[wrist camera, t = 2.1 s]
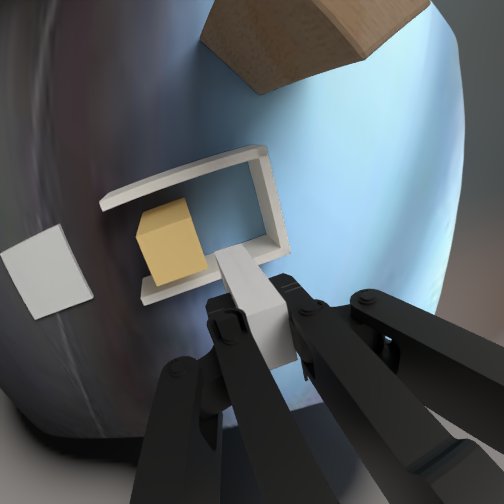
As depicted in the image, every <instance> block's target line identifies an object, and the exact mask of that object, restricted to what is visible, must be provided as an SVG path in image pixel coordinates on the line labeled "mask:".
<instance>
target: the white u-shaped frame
mask: <svg viewBox="0 0 504 504" xmlns="http://www.w3.org/2000/svg"><path fill="white" fill-rule="evenodd" d="M246 161H248V164H249V168H250V172H251V176H252V179H253V183H254V187H255V191H256V195H257V199H258V203H259V207H260V210H261V214H262V218H263V222H264V226H265V230H266V235H263V236H260V237H257V238H254V239H251V240H249V241H246V242H243V243H242V245H243V246H244V247H245V249H246V250H247V251H248V253H249V254H250V255H251V257H252V258H253V259H254V261H255V262H256V263H257V265H260V264H263V263H266V262H269V261H271V260H274V259H277V258H280V257H282V256H285V255H288V254H290V253H291V250H290V246H289V241H288V237H287V232H286V228H285V223H284V219H283V214H282V210H281V206H280V201H279V197H278V193H277V189H276V184H275V180H274V176H273V172H272V168H271V164H270V160H269V156H268V152H267V148H266V146H265V145H254V144H252V145H248V146H244V147H241V148H237V149H234V150H230V151H227V152H223V153H220V154H217V155H213V156H210V157H207V158H204V159H201V160H197V161H194V162H191V163H188V164H185V165H182V166H179V167H176V168H173V169H170V170H168V171H165V172H162V173H159V174H156V175H154V176H151V177H148V178H145V179H143V180H140V181H137V182H135V183H132V184H129V185H127V186H124V187H122V188H119V189H117V190H114V191H112V192H109V193H108V194H107V195H106V196H105V197H104V198H103V199H102V200H101V201H100V202H99V203H100V206H101V209H102V211H105V210H108V209H110V208H113V207H115V206H118V205H120V204H123V203H125V202H128V201H130V200H133V199H136V198H138V197H141V196H144V195H146V194H149V193H152V192H154V191H157V190H160V189H163V188H166V187H168V186H171V185H174V184H177V183H180V182H183V181H186V180H189V179H192V178H195V177H198V176H201V175H204V174H207V173H210V172H213V171H216V170H220V169H223V168H226V167H229V166H233V165H236V164H239V163H243V162H246ZM204 257H205V259H206V262H207V265H208V269H205V270H202V271H199V272H197V273H194V274H191V275H188V276H185V277H183V278H180V279H177V280H174V281H171V282H169V283H166V284H163V285H160V286H157V285H156V283H155V281H154V279H153V276H152V275H150V276H147V277H145V278H143V280H142V289H141V300H142V302H143V304H144V306H146V305H148V304H151V303H154V302H157V301H160V300H163V299H166V298H168V297H171V296H174V295H177V294H180V293H183V292H185V291H188V290H191V289H194V288H197V287H199V286H202V285H205V284H208V283H211V282H213V281H216V280H219V279H222V277H221V274H220V270H219V267H218V264H217V261H216V257H215V254H214V253H212V254H209V255H206V256H204Z"/></svg>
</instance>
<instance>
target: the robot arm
mask: <svg viewBox="0 0 504 504" xmlns="http://www.w3.org/2000/svg"><path fill="white" fill-rule="evenodd" d="M214 254H215V257H216V261H217V264H218V267H219V270H220V274H221V277H222V280H223V283H224V286H225V290H226V294H223V295H220V296H217V297H214V298H211V299H208V301H207V304H206V306H205V307H206V311H207V315H208V321H207V328H208V330H209V333H210V335H211V338H212V340H213V343H214V345H213V348H212V349H211V351H210V352H209V353H208V354H206V355H205V356H203V357H202V358H200V359H198V360H196V359H195V358H192V357H190V356H182V357H178V358H175V359H173V360H171V361H170V362H168V363H167V364H166V365H165V366H164V368H163V369H162V371H161V375H160V378H159V382H158V386H157V389H156V393H155V397H154V401H153V404H152V408H151V412H150V416H149V420H148V424H147V428H146V432H145V436H144V441H143V445H142V449H141V454H140V458H139V462H138V466H137V471H136V476H135V480H134V485H133V490H132V494H131V499H130V504H219V502H220V471H221V445H222V422H223V413H222V411H223V410H225V409H226V408H228V407H230V406H231V405H232V407H233V410H234V413H235V416H236V419H237V422H238V426H239V428H240V432H241V435H242V438H243V441H244V444H245V447H246V449H247V452H248V455H249V458H250V461H251V464H252V467H253V470H254V472H255V475H256V478H257V480H258V483H259V486H260V489H261V492H262V494H263V497H264V500H265V502H266V504H340V503H339V502H338V500H337V498H336V496H335V495H334V493H333V491H332V489H331V487H330V486H329V484H328V482H327V480H326V478H325V477H324V475H323V473H322V471H321V469H320V467H319V465H318V464H317V462H316V460H315V458H314V456H313V454H312V452H311V450H310V449H309V447H308V445H307V443H306V441H305V439H304V437H303V435H302V433H301V431H300V429H299V427H298V426H297V424H296V422H295V420H294V418H293V416H292V414H291V412H290V410H289V408H288V406H287V404H286V402H285V400H284V398H283V396H282V394H281V392H280V390H279V388H278V386H277V384H276V382H275V380H274V378H273V376H272V374H271V372H270V370H272V369H275V368H278V367H280V366H283V365H286V364H288V363H291V362H293V361H296V360H298V359H297V354H296V351H297V353H298V354H299V356H300V358H301V363H302V368H303V374H304V378H305V381H307V380H308V377H309V379H310V380H311V382H312V384H313V385H314V387H315V388H316V390H317V392H318V393H319V395H320V396H321V398H322V400H323V401H324V403H325V404H326V406H327V407H328V409H329V411H330V412H331V414H332V415H333V417H334V418H335V420H336V422H337V423H338V425H339V426H340V428H341V429H342V431H343V433H344V434H345V436H346V437H347V439H348V440H349V442H350V444H351V445H352V447H353V448H354V450H355V451H356V453H357V454H358V456H359V457H360V459H361V460H362V462H363V464H364V465H365V467H366V468H367V470H368V471H369V473H370V474H371V476H372V477H373V479H374V480H375V482H376V484H377V485H378V486H379V488H380V489H381V491H382V493H383V494H384V496H385V497H386V499H387V500H388V502H389V503H390V504H504V472H503V470H502V469H501V468H500V467H499V466H498V465H497V464H496V463H495V462H494V461H493V460H492V459H491V458H490V457H489V455H488V454H487V453H486V452H485V451H484V450H483V449H482V448H481V447H480V446H479V445H478V444H477V443H476V442H474V441H472V440H470V439H456V438H454V437H453V436H452V435H451V434H450V433H449V432H448V431H447V430H446V429H445V428H444V427H443V426H442V425H441V423H440V422H439V421H438V420H437V419H436V418H435V417H434V416H433V415H432V414H431V413H430V412H429V411H428V409H427V408H429V409H431V410H432V411H434V412H435V413H437V414H438V415H440V416H441V417H443V418H445V419H446V420H448V421H449V422H451V423H453V424H454V425H456V426H458V427H459V428H461V429H462V430H464V431H465V432H467V433H469V434H470V435H472V436H473V437H475V438H477V439H478V440H480V441H482V442H483V443H485V444H487V445H488V446H490V447H492V448H493V449H495V450H497V451H498V452H500V453H502V454H504V347H502V346H500V345H498V344H496V343H494V342H491V341H489V340H487V339H485V338H483V337H481V336H479V335H476V334H474V333H472V332H470V331H468V330H465V329H463V328H461V327H459V326H457V325H455V324H453V323H450V322H448V321H446V320H444V319H442V318H440V317H437V316H435V315H433V314H431V313H429V312H426V311H424V310H422V309H420V308H417V307H415V306H413V305H411V304H409V303H406V302H404V301H402V300H400V299H397V298H395V297H393V296H391V295H389V294H386V293H384V292H382V291H379V290H376V289H363V290H360V291H358V292H355V293H354V294H353V295H352V296H351V298H350V304H349V305H343V306H338V307H330V306H329V305H328V304H327V303H325V302H324V301H321V300H317V299H313V298H312V297H311V296H310V295H309V294H308V293H307V292H306V291H305V290H304V289H303V288H302V287H301V285H300V284H299V283H297V281H296V280H295V279H294V278H293V277H292V276H290V275H287V274H284V273H282V274H279V275H277V276H274V277H271V278H267V277H266V275H265V274H264V273H263V271H262V270H261V269H260V267H259V266H258V265H257V263H256V262H255V261H254V259H253V258H252V257H251V255H250V254H249V253H248V251H247V250H246V249H245V247H244V246H243V245H242V243H240V244H237V245H233V246H230V247H227V248H224V249H221V250H218V251H215V252H214ZM385 336H387V337H389V338H391V339H392V341H390V340H388V339H386V338H385ZM307 376H308V377H307ZM425 406H426V407H427V408H426V407H425Z"/></svg>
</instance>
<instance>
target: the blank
mask: <svg viewBox="0 0 504 504" xmlns="http://www.w3.org/2000/svg"><path fill="white" fill-rule="evenodd" d="M136 238H137V241H138V243H139V246H140V248H141V251H142V253H143V255H144V258H145V260H146V263H147V265H148V267H149V270H150V272H151V274H152V276H153V279H154V281H155V283H156V285H157V286H160V285H163V284H166V283H169V282H171V281H174V280H177V279H180V278H183V277H185V276H188V275H191V274H194V273H197V272H199V271H202V270H205V269H208V265H207V262H206V259H205V257H204V254H203V251H202V248H201V245H200V242H199V239H198V236H197V233H196V231H195V228H194V225H193V222H192V219H191V216H190V213H189V210H188V207H187V204H186V201H185V198H181V199H178V200H175V201H172V202H169V203H167V204H164V205H161V206H158V207H156V208H153V209H150V210H147V211H145V212H143V213H142V217H141V220H140V224H139V227H138V231H137V235H136Z"/></svg>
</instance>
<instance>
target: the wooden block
mask: <svg viewBox="0 0 504 504" xmlns="http://www.w3.org/2000/svg"><path fill="white" fill-rule="evenodd" d="M430 3H431V2H430V0H215V1H214V3H213V6H212V8H211V10H210V13H209V15H208V18H207V20H206V23H205V25H204V28H203V30H202V33H201V35H200V40H201V41H202V42H203V43H204V44H205V45H206V46H207V47H208V48H209V49H211V50H212V51H213V52H214V53H215V54H216V55H217V56H218V57H219V58H221V59H222V60H223V61H224V62H225V63H226V64H227V65H228V66H229V67H230V68H231V69H232V70H233V71H235V72H236V73H237V74H238V75H239V76H240V77H241V78H242V79H243V80H244V81H245V82H246V83H247V84H248V85H249V86H250V87H251V88H252V89H253V90H254V91H255V92H256V93H257V94H259V95H262V94H265V93H267V92H270V91H272V90H275V89H278V88H280V87H283V86H286V85H288V84H291V83H294V82H296V81H299V80H302V79H305V78H308V77H311V76H314V75H317V74H320V73H323V72H326V71H329V70H332V69H335V68H339V67H342V66H345V65H349V64H352V63H356V62H359V61H363V60H365V59H366V58H368V57H369V56H370V55H371V54H372V53H373V52H374V51H376V50H377V49H378V48H379V47H380V46H381V45H382V44H384V43H385V42H386V41H387V40H388V39H389V38H391V37H392V36H393V35H394V34H395V33H397V32H398V31H399V30H400V29H401V28H403V27H404V26H405V25H406V24H407V23H409V22H410V21H411V20H412V19H414V18H415V17H416V16H417V15H418V14H420V13H421V12H422V11H423V10H425V9H426V8H427V7H428V6H429V5H430Z"/></svg>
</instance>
